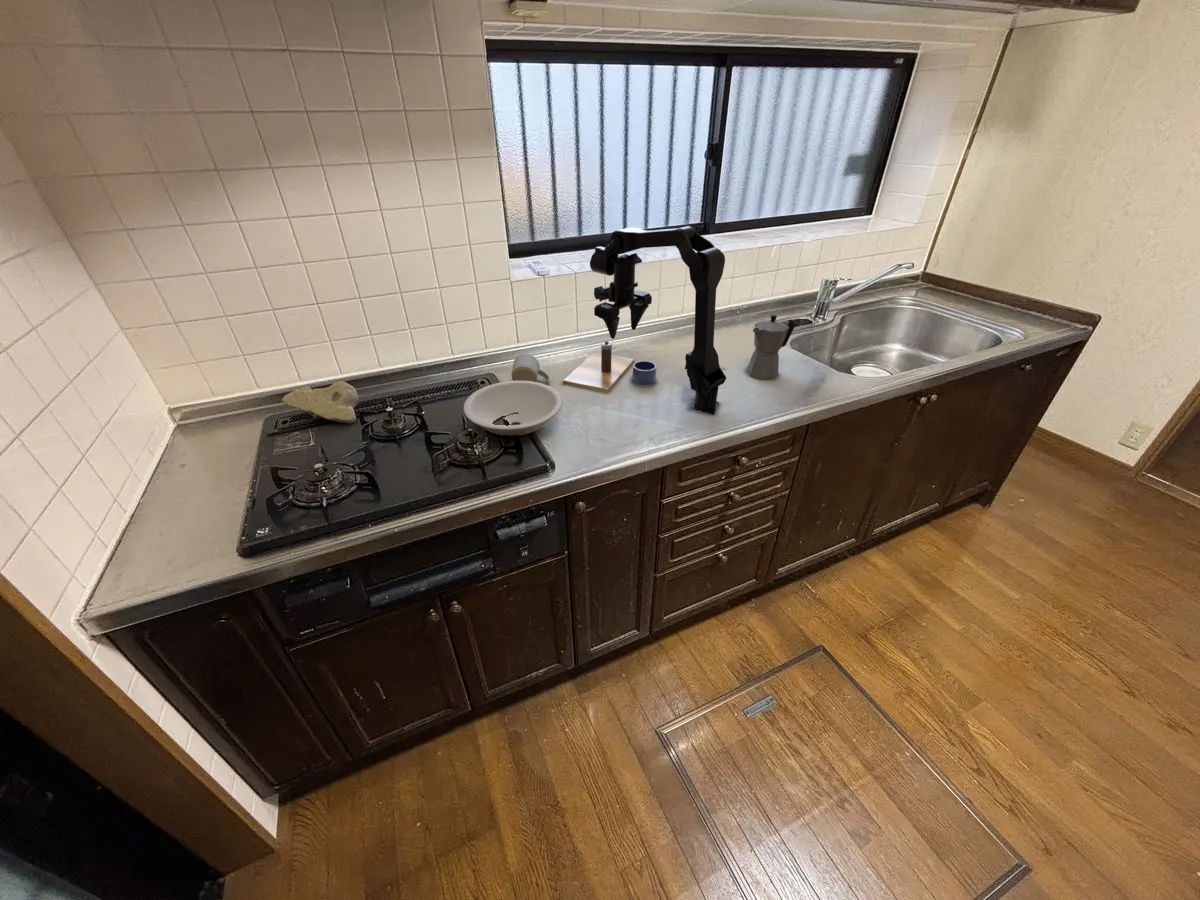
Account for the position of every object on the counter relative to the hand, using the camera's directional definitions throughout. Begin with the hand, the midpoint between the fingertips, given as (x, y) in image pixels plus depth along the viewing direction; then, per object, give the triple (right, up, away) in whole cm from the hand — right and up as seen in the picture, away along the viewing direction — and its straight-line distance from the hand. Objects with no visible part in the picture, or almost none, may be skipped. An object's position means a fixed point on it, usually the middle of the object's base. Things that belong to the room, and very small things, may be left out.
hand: (623, 333), depth 144 cm
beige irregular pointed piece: (-77, -26, -15) cm, 83 cm away
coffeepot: (+43, -10, +8) cm, 45 cm away
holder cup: (+6, -13, +3) cm, 15 cm away
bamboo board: (-7, -10, +8) cm, 14 cm away
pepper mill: (-5, -10, +6) cm, 12 cm away
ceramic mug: (-27, -14, +2) cm, 30 cm away
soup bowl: (-28, -27, -17) cm, 43 cm away
